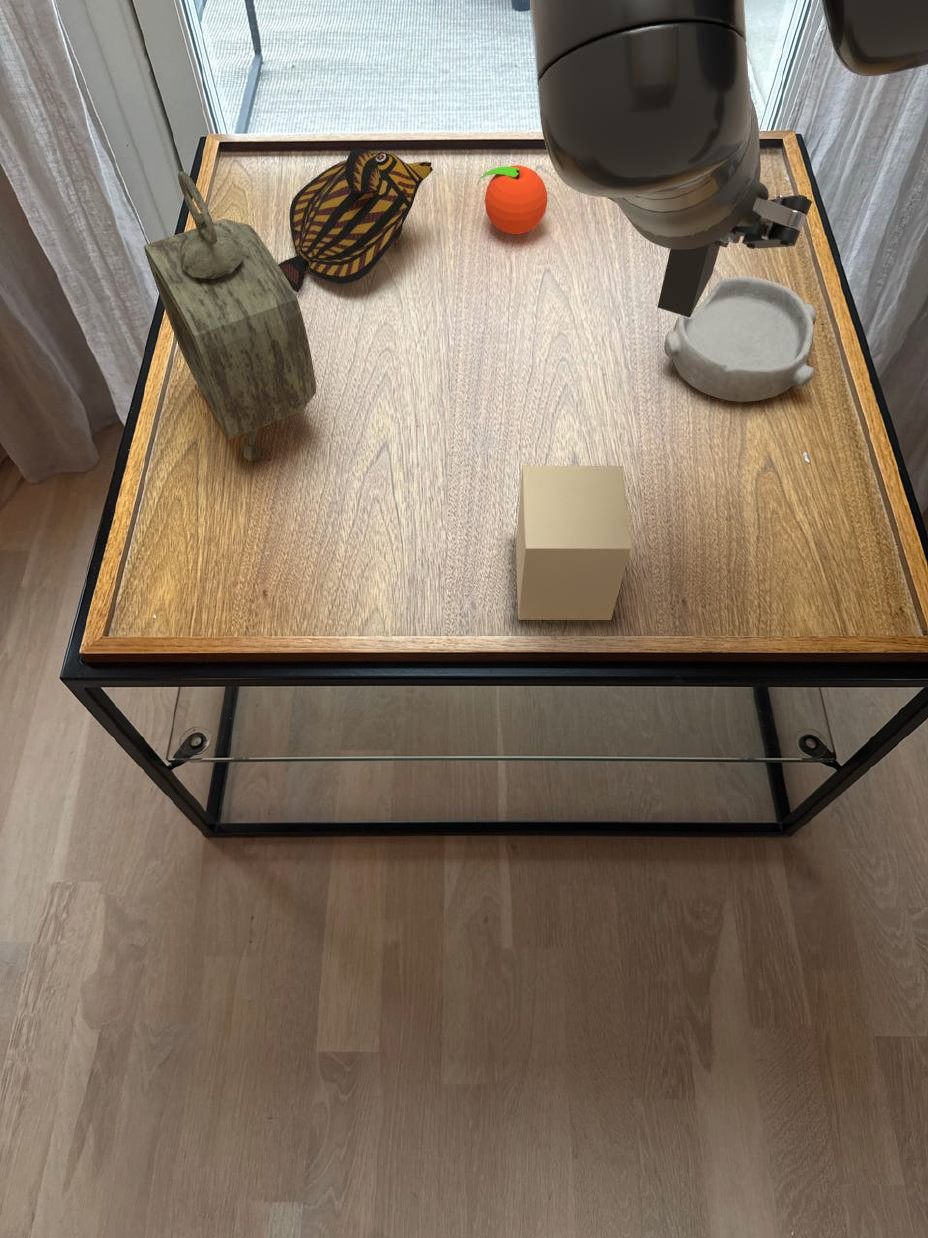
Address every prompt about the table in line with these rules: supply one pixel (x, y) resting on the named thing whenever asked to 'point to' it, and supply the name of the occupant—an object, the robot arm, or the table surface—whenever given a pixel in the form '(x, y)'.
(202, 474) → the table surface
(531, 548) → the stand
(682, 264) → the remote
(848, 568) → the table surface
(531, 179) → the clementine
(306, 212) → the decorative fish sculpture
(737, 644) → the table surface
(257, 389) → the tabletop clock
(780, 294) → the dish
